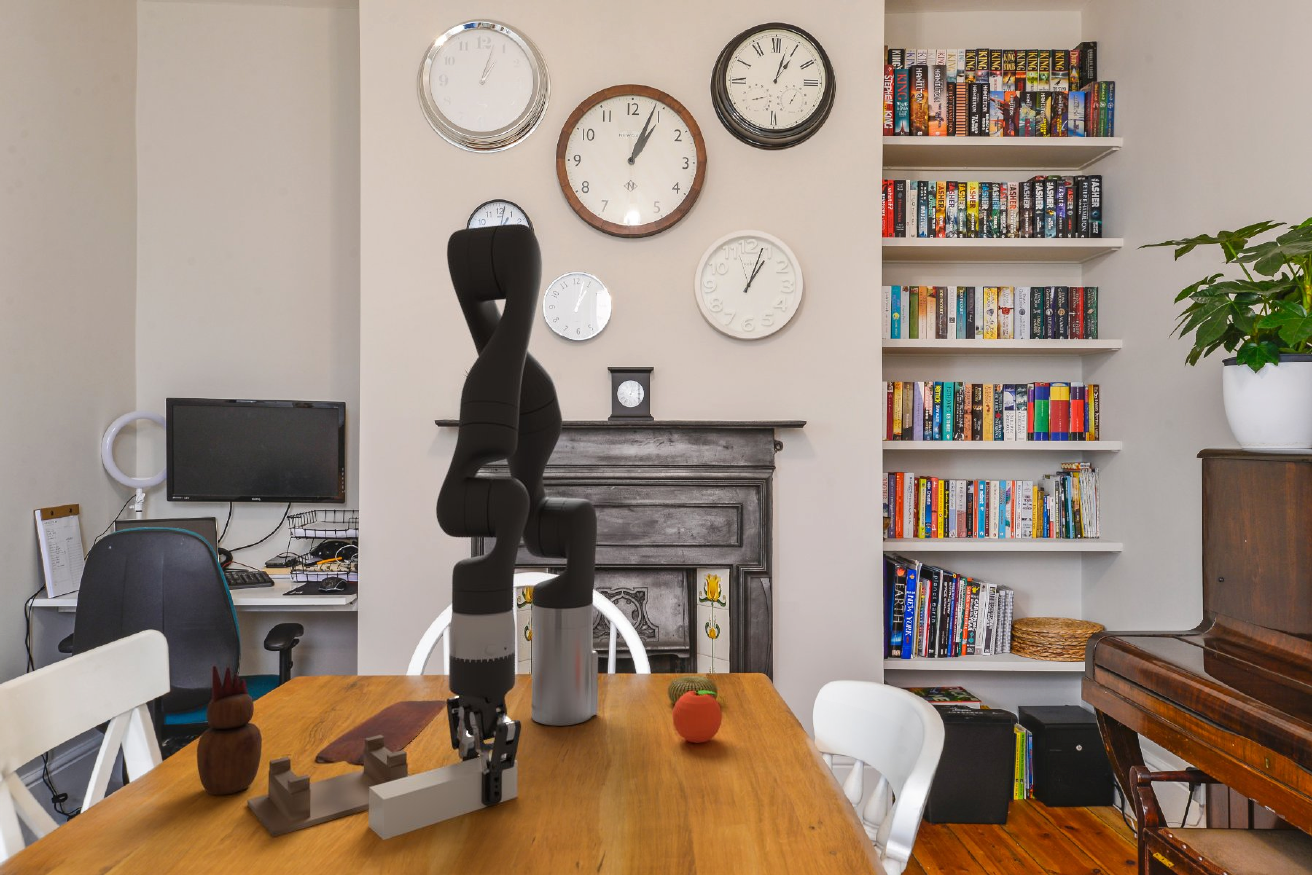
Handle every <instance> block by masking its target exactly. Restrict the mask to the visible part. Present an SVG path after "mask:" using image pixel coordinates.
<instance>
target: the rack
mask: <svg viewBox="0 0 1312 875" xmlns="http://www.w3.org/2000/svg"><path fill="white" fill-rule="evenodd" d="M407 753H408V752H407V751H405V750H404V749H401V750H400V751H398V752H394V753H392V752H391V751H389V750H388V749H386V748H385V747H384V737H383V736H382V735H378V736H374V737H369V738H365V747H364V765H363V769H359V770H356V771H351V772H348V773H344V774H341V775H337V776H333V777H328V778H326V779H321V780H317V781H314V782H310V781H311V776H309V775H308V774H305V775H300V776H298V775H297V774H295V772H294V771H293V770H291V765H292V764H291V762H292V761H291V760H292V759H291V758H290V757H289V756H285V757H280V758H276V759H272V760H269V767H268V782H267V783H268V787H267V788H268V790H267V792H268V793H267V794H264V795H261V796H256V797H251V798H248V799H247V800H246V801H247V803H246V804H247V807H248V808H249V809H250V810H251V811H252V813H253V814H254V815H255V816H256V818H257V819H258V820H259V821H260V823H261V824H262V825H263V826H264V828H265V829H266V830H267V832H268V833H269V834H270V836H271V837H272V838H274V837H275V838H276V837H277V836H281V835H285V834H288V833H292V832H295V831H299V830H301V829H305V828H309V827H312V826H315V825H318V824H323V823H325V822H329V821H331V820H333V821H334V820H336V819H340V818H342V817H347V816H350V815H353V814H356V813H359V812H363V811H367V810H369V787H372V786H376V785H379V784H383V783H386V782H390V781H394V780H397V779H401V778H405V777H408V776H412V775H411V774H410V773H409V771H408V769H409V768H408V767H409V766H408V765H409V764H408V763H407V760H408V759H407V756H408V754H407Z"/></svg>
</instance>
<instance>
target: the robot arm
mask: <svg viewBox="0 0 1312 875" xmlns="http://www.w3.org/2000/svg"><path fill="white" fill-rule="evenodd" d="M446 259H447V266H448V271H449V276H450V280H451V283H452V286H453V290H454V292H455V295H456V298H457V300H458V303H459V306H460V309H461V312H462V315H463V317H464V319H465V321H466V325H467V327H468V330H469V333H470V335H471V337H472V340H473V344H474V346H475V349H476V353H477V356H478V357H477V359H476V360H475V362H474V363H473V365H472V367H471V368H470V369H469V371H468V374H467V375H466V378H465V379H464V380H465V381H464V383H463V387H462V391H461V395H460V397H461V398H460V408H459V418H458V419H459V421H458V431H457V432H458V433H457V439H456V440H457V441H456V445H455V449H454V451H453V455H452V459H451V462H450V464H449V468H448V469H447V473H446V476H445V477H444V481H443V482H442V485H441V487H440V490H439V494H438V497H437V499H436V500H437V501H436V506H435V507H436V508H435V513H436V520H437V523H438V525H439V527H440V529H441V530H442V532H444V534H446V535H448V536H449V537H452V538H485V539H486V538H489V539H490V538H495V545H494V547H493V548H492V550H491V551H490V552H489V553H486V554H483V555H478V556H472V557H467V558H464V559H461V560H459V561H458V562H456V563H455V565H454V566H453V569H452V577H451V578H452V579H451V584H452V585H451V586H452V588H451V591H452V592H451V610H452V611H451V617H450V618H451V619H450V624H449V640H448V641H449V642H448V643H449V645H448V646H449V651H448V652H449V654H448V659H449V661H448V663H449V664H448V667H449V669H448V688H449V691H450V692H451V693H452V694H453V695H456V696H453V697H447V699H446V700H445V701H446V710H447V719H448V726H449V733H450V742H451V748H452V749H453V751H455V750H458V758H459V759H460V760H461V762H463V761H467V760H470V759H474V758H478V757H481V765H482V771H483V772H482V804H484V805H485V806H487V807H490V806H493V805H496V804H499V802H500V801H501V799H502V771H503V770H506V769H510V768H513V767H514V762H515V760H516V756H517V752H518V746H519V740H520V736H521V731H522V723H521V721H520V720H519V719H514V720H511V719H510V718H509V717H508V709H507V708H508V707H507V704H506V695H507V694H508V692H510V691H511V690H513V688H514V687H515V684H516V623H515V616H514V615H515V614H514V578H515V567H516V560H517V555H518V552H519V548H520V544H521V541H523V544H524V546H525V548H526V550H527V552H528V553H529V554H530V555H531V556H534V557H538V558H541V559H542V558H543V559H560V560H561V559H564V560H566V565H565V566H566V567H565V570H564V571H563V572H562V573H561V574H559V575H556V577H552V578H550V579H549V578H548V579H546V580H543V581H540V582H537V584H535V585H534V586H533V588H532V596H531V598H532V599H531V600H532V602H531V603H532V606H531V607H532V613H531V614H532V616H531V617H532V618H531V620H532V622H531V623H532V624H531V625H532V626H531V627H532V628H531V631H532V633H531V636H532V637H531V661H532V662H531V719H532V720H533V721H535V722H536V723H539V724H543V725H547V726H571V725H572V726H573V725H576V724H580V723H581V724H582V723H584V722H587V721H588V720H590V719H591V718H592V717H593V716H596V715H598V714H599V713H598V712H599V707H598V706H599V697H598V696H599V685H598V684H599V680H598V679H599V653H598V652H597V651H596V650H593V649H594V648H593V647H594V646H593V645H594V644H593V642H594V639H593V638H594V637H593V636H594V635H593V634H594V632H593V629H594V628H593V624H594V622H593V621H594V620H593V619H594V616H593V615H594V612H593V610H594V604H593V603H594V587H595V578H596V576H595V575H596V573H595V572H596V554H597V553H596V550H597V548H596V547H597V540H598V539H597V536H598V534H597V533H598V521H597V513H596V509H595V506H594V505H593V503H592V502H591V501H590V500H588V499H585V498H565V497H563V498H559V497H549V496H548V495H547V494H546V492H545V487H544V481H543V480H544V478H543V477H544V472H545V470H546V467H547V465H548V462H549V460H550V458H551V456H552V454H553V452H554V450H555V448H556V446H557V444H558V441H559V438H560V436H561V433H562V429H563V417H562V410H561V407H560V402H559V398H558V393H557V389H556V385H555V382H554V380H553V378H552V376H551V374H550V373H549V372H548V370H547V369H546V368H545V367H544V366H543V365H542V363H541V362H540V361H539V360H538V359H537V358H536V357H535V356H534V355H533V354H532V353H531V352H530V350H528V349H529V346H530V339H531V336H532V331H533V327H534V321H535V316H536V312H537V311H536V310H537V306H538V302H539V295H540V292H541V284H542V276H543V259H542V251H541V247H540V243H539V241H538V238H537V236H536V235H535V233H534V231H533V230H532V229H531V228H530V227H529V226H527V225H525V224H521V223H520V224H519V223H516V224H515V223H511V224H509V223H508V224H500V225H498V224H497V225H490V226H480V227H479V226H478V227H471V228H463V229H458V230H455V231H454V232H452V234H451V235H450V237H449V239H448V242H447V249H446ZM502 300H505V302H504V306H503V311H502V314H501V312H500V309H499V308H498V305H497V302H496V301H502ZM504 460H506V463H507V467H508V471H509V474H510V477H476V475H477V474H478V472H479V471H480V470H481V468H482V467H484V466H485V465H488V464H490V463H495V462H500V461H504ZM493 739H494V740H493ZM487 740H493V741H490V742H486V743H485V741H487ZM490 751H491V754H492V755H491V761H490V759H489V754H490ZM505 754H506V758H505ZM500 803H501V802H500Z"/></svg>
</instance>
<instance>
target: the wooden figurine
mask: <svg viewBox="0 0 1312 875" xmlns="http://www.w3.org/2000/svg"><path fill="white" fill-rule="evenodd" d="M219 674H220V673H219V671H218V668H217V666H216V665H213V666H212V686H211V687H212V689H211V691H212V692H211V693H212V695H211V696H212V699H211V700H210V701H209V702H208V705H207V708H206V717H205V718H206V722H207V725H208V726H209V727H210V728H208V729H206V730H204V732H203V733H202V735H201V736H199V739H198V740H199V741H198V743H197V747H196V762H197V765H196V766H197V771H198V775H199V780H200V783H201V785H202V786H203V789H204V790H205V791H206V792H207V793H208V794H211V795H231V794H235V793H238V792H240V791H243V790H245V789H247V788H249V787H250V786H251V785H252V784H253V782H254V781H255V779H256V777H257V775H258V771H259V767H260V764H261V757H262V744H263V743H262V742H263V739H262V738H263V737H262V733H261V730H260V728H259V727H258V726H257V725H256V723H255V724H254V723H252V722H250V721H251V720H252V718H253V716H254V709H255V708H254V706H255V705H254V701H253V698H252V696H250V694H249V693H248V692H249V691H248V687H247V682H246V679H244V678H242V679H241V681H240V680H239V675H238V674H237V673H235V674H234V677H233V681H232V674H231V669H230V666H227V667H226V668H225V673H224V678H223V683H222V681H221V678H220V675H219Z"/></svg>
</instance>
